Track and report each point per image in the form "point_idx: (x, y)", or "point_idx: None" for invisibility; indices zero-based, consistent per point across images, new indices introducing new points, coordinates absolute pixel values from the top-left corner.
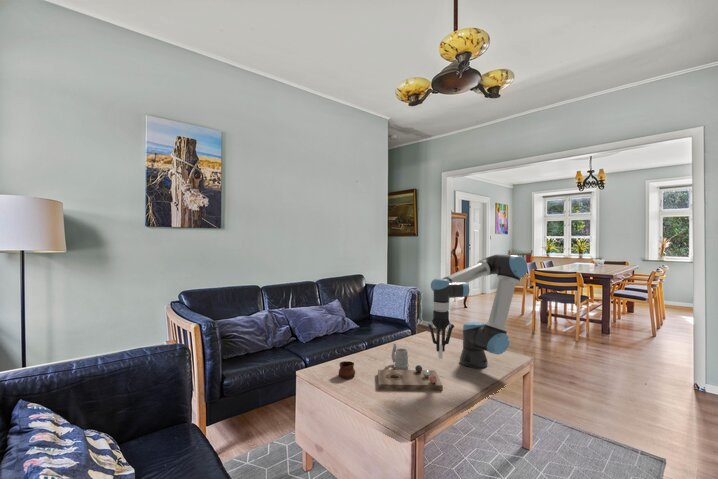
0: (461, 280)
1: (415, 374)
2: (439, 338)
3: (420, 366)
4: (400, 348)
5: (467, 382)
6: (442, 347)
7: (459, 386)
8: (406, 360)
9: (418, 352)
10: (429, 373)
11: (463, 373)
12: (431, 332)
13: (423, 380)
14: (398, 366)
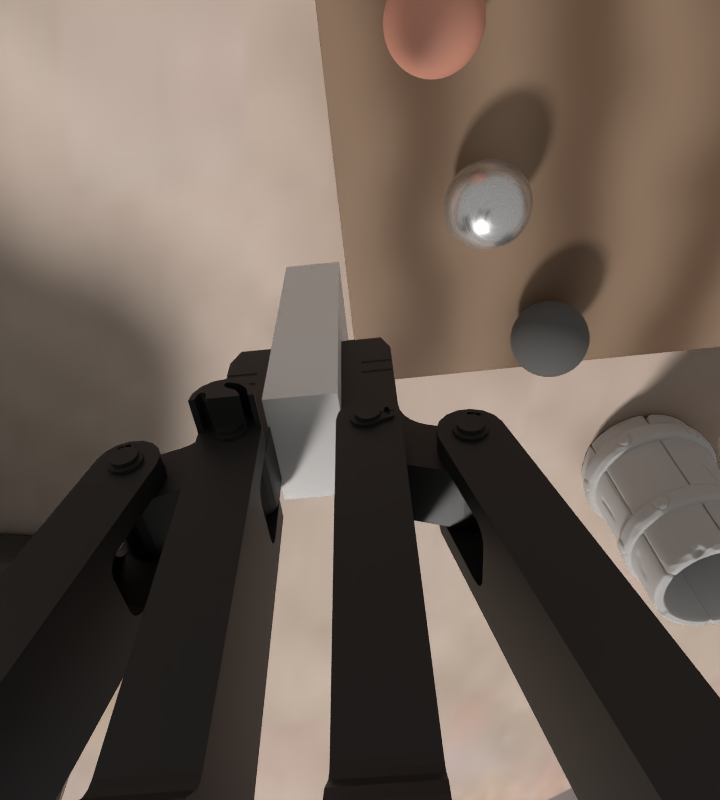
0: None
1: (589, 255)
2: (341, 530)
3: (542, 342)
4: (714, 622)
5: (41, 238)
6: (268, 373)
7: (116, 118)
8: (637, 490)
9: (441, 699)
10: (461, 184)
11: (100, 428)
12: (707, 697)
13: (536, 87)
14: (697, 434)
